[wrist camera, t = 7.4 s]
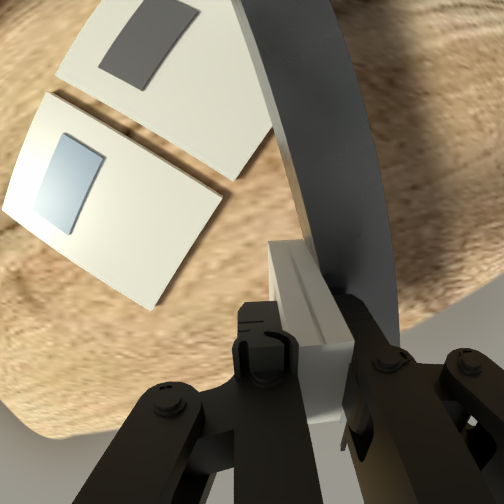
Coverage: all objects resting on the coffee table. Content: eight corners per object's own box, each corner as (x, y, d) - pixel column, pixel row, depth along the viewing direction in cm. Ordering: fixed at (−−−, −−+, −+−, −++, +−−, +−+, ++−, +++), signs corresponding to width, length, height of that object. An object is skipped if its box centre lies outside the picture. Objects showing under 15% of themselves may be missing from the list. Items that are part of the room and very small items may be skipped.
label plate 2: (51, 92, 14) (44, 91, 13) (223, 196, 17) (222, 199, 16) (7, 207, 16) (0, 210, 16) (153, 306, 19) (150, 313, 18)
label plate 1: (138, -37, 12) (134, -42, 11) (321, 58, 14) (325, 55, 13) (59, 76, 14) (52, 75, 13) (234, 180, 17) (233, 182, 16)
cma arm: (162, -106, 7) (145, -148, 3) (256, -126, 6) (259, -170, 3) (313, 372, 15) (326, 426, 12) (395, 346, 15) (422, 394, 12)
